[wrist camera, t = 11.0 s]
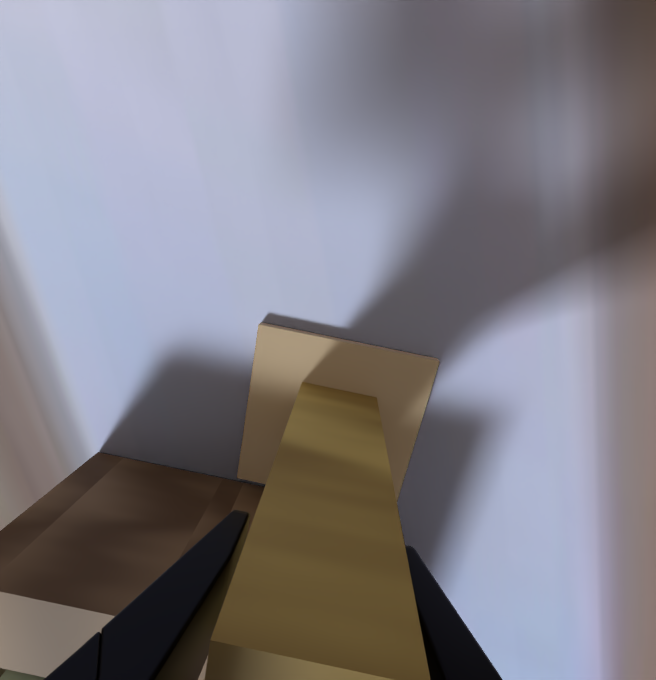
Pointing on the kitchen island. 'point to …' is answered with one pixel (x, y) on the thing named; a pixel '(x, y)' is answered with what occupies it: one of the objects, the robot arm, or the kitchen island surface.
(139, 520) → the block
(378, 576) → the square wooden peg
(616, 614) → the kitchen island surface
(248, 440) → the pad
